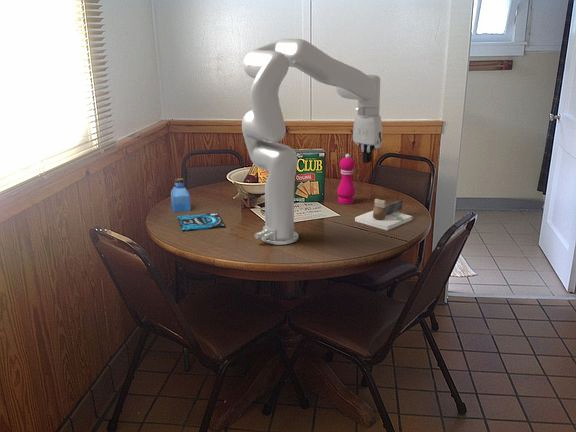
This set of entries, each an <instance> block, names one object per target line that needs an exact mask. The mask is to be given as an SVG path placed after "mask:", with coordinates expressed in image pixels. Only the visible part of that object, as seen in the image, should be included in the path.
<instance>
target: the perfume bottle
mask: <svg viewBox="0 0 576 432" xmlns="http://www.w3.org/2000/svg"><path fill="white" fill-rule="evenodd" d="M174 181H175V182H174V186H173V187H172V189H171V191H170V204H171V205H170V206H171V209H172V211H173V213H181V212H182V213H183V212H191V210H192V209H191V196H190V193H189V191H188V190H187V188H186V187H185V182H184V178H181V177H180V178H179V177H178V178H175V179H174Z"/></svg>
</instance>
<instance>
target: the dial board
mask: <svg viewBox="0 0 576 432" xmlns="http://www.w3.org/2000/svg"><path fill="white" fill-rule="evenodd" d="M412 220H413V216H412V215H410V214H405V213H401V212H398V211H396V212H394V213H391V214H388V215H386V216H385V218H384V219H375V218H373V210H371V211H368V212H366V213H362V214H360V215H358V216H355V217H354V222H357V223H361V224H363V225H364V224H365V225H367V226H370V227H373V228H374V227H375V228H377V229H381V230H384V231H389V230H392V229H394V228H396V227H399V226H401V225H403V224H406V223H408V222H410V221H412Z"/></svg>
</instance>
